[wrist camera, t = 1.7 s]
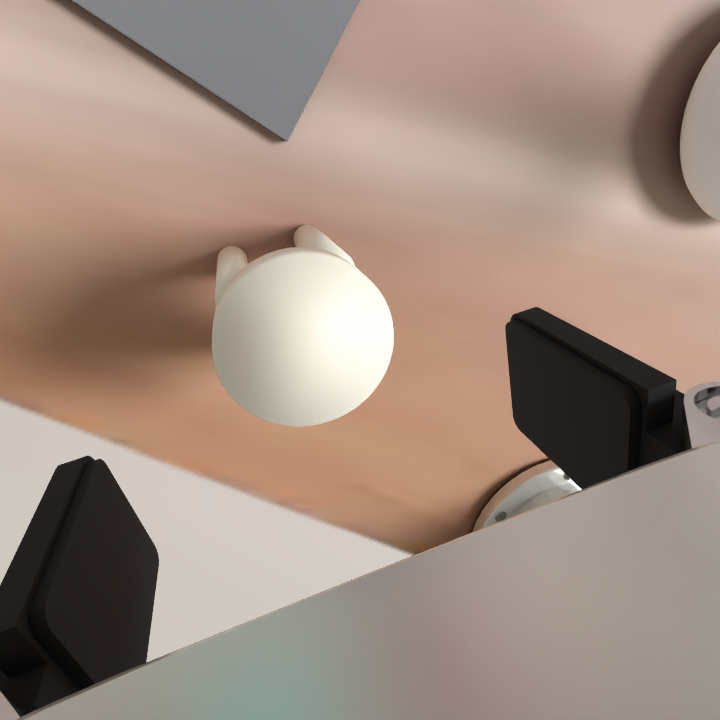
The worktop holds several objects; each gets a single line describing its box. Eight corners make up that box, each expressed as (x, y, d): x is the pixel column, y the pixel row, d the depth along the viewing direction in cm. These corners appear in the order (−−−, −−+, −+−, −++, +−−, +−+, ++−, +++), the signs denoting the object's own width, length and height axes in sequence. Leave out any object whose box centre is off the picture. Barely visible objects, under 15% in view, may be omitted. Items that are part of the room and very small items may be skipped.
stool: (326, 205, 24) (373, 232, 16) (355, 324, 26) (408, 394, 19) (195, 241, 23) (181, 287, 15) (240, 360, 26) (247, 448, 18)
